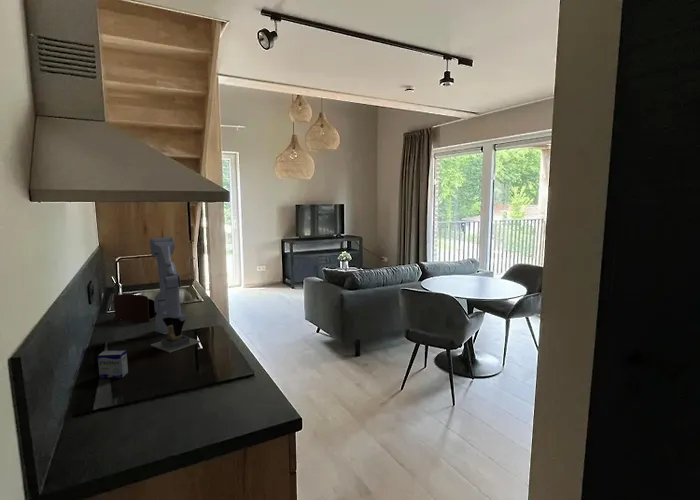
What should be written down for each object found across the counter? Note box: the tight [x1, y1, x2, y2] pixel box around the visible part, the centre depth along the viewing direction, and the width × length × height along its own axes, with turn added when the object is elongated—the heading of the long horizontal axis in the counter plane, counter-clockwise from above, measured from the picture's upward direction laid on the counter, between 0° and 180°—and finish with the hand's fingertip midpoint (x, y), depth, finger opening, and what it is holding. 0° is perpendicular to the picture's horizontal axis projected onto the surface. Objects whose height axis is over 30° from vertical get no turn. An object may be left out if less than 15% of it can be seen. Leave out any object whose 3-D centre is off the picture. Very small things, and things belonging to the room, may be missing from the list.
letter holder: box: [113, 293, 157, 323], centre depth 208 cm, size 10×20×14 cm, turn 80°
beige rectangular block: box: [166, 325, 183, 341], centre depth 169 cm, size 4×4×6 cm
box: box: [97, 349, 129, 380], centre depth 138 cm, size 8×4×9 cm, turn 95°
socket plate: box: [150, 334, 201, 353], centre depth 169 cm, size 14×14×3 cm
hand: (175, 334), depth 169 cm, fingers closed on beige rectangular block, 4 cm apart
